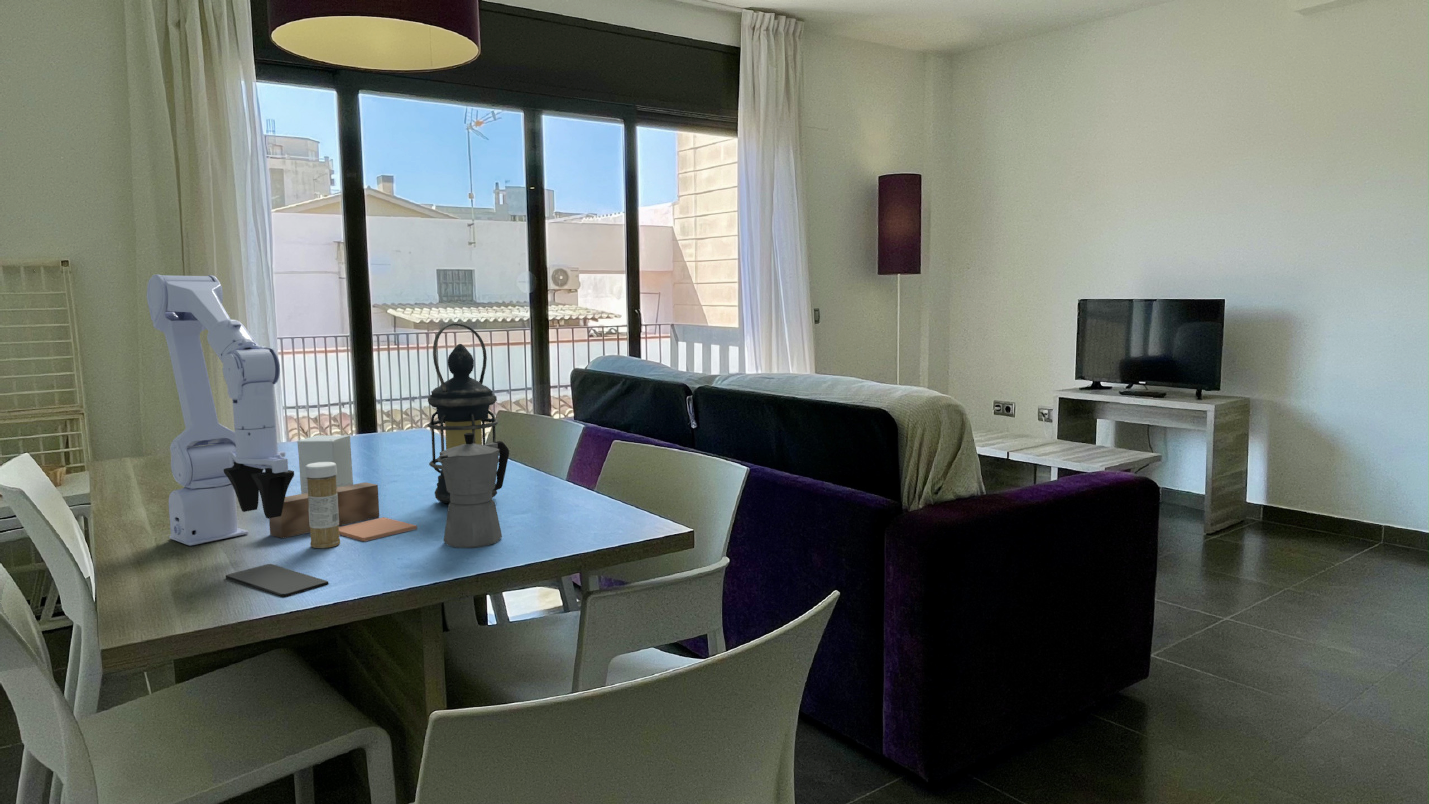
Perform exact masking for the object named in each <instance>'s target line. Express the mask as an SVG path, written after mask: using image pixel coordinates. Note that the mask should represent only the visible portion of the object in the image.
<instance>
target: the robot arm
mask: <svg viewBox="0 0 1429 804" xmlns="http://www.w3.org/2000/svg"><path fill="white" fill-rule="evenodd" d="M146 302H147V306H148V310H149V315H150V319H151V321H152V325H153V328H154V329H156V330H157V331H160V332H162V333H164V337H165V341H166V345H167V348H168V354H169V357H170V358H169V359H170V362H171V367H172V372H173V377H174V380H175V385H176V390H177V394H178V398H179V404H180V407H181V408H180V409H181V413H182V418H183V423H184V427H185V428H184V430H183V431H182V432H180V434H178V435H177V436H176V437H175V438H174V439H172V441H171V443H170V447H169V450H170V469H171V474H172V476H173V478H174V480H175V482H176V483H177V484H179V485H180V486H182V488H179V489H175V490H172V491H171V492H170V493H169V497H168V517H169V525H170V526H169V527H170V529H169V530H170V535H169V536H168V537H169V539H171V540H173V541H176V542H178V543H182V544H184V545H187V546H195V545H196V546H197V545H199V544H205V543H210V542H215V541H219V540H223V539H228V538H229V539H230V538H234V537H238V536H244V535H247V534H249V530H247V529H243V528H240V527H238V525H239V524H238V512H237V511H238V510H237V501H238V504H239V507H240V509H241V511H242V513H246V512H252V511H255V510H258V508H259V500H260V499H261V504H262V508H263V509H262V510H263V513H264V516H265V518H266V519H269V518H274V517H279V516H281V514H282V510H283V505H284V500H285V497H286V495H287V491H288V489H289V486H290V484H291V481H292V480H293V478H294V477H295V471H294V470H291V469H289V465H288V464H289V462H288V458H285V457H286V452H285V451H279V449H278V436H277V435H278V434H277V419H276V418H277V417H276V404H275V403H276V402H275V387H274V385H276V384H277V383H278V381H279V378H280V373H281V364H280V360H279V356H278V354H277V353H276V351H275V349H274V348H272V347H270V346H265V345H260V344H259V343H258V342H257V341H256V339H255V338H254V337H253V335H252V334H251V333H250V331H249V330H248V329H247V328H246V326H245V325H244V324H243V323H242V322H241V321H240V320H237V319H231V317H230V315H229V314H228V312H227V311H226V309H225V307H224V305H223V302H224V291H223V286H222V284H221V282H220V280H219V279H218V278H217V277H216V276H215V275H213V274H212V275H211V274H208V275H162V274H159V273H158V274H156V273H155V274H153V275H152V276H151V277H150V278H149V280H148V282H147V287H146ZM206 330H207V331H208V333H207V336H206V337H207V338H206V340H207V343H208V345H209V347H211V349H212V350H213V351H214V353H215V354H216V356H217V357H218V359H219V360H220V361H221V363H222V374H223V377H224V378H223V379H224V381H225V384H226V386H227V387H226V388H227V394H228V397H229V399H231V400H232V401H231V402H232V411H233V428H234V430H232V429H230V428H228V427H226V426H225V425H223V424H221V423H220V422H219V419H218V414H217V410H216V406H215V401H214V397H213V392H212V386H211V383H210V378H209V374H208V370H207V368H208V367H207V364H206V360H205V359H206V358H205V356H204V350H203V346H202V341H201V337H200V335H201V333H202V332H203V331H206ZM259 496H260V499H259Z"/></svg>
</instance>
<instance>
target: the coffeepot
mask: <svg viewBox="0 0 1429 804" xmlns="http://www.w3.org/2000/svg"><path fill="white" fill-rule="evenodd" d="M464 437H465V441H466V444H463V445H460V446H456V447H453V448H449V449H447V450H446V449H444V451H442V452H441V451H439V456H438V457H437V458H436V459H437V460H438V462H437V463H440V465H442V468H443V473H444V478H445V483H446V489H447V491H448V492H449V493H450V503H448V507H447V513H446V520H445V522H446V523H445V530H444V536H443V542H444V543H445V544H446V545H447V546H449V547H452V548H457V549H471V548H472V549H474V548H484V547H487V546H488V547H489V546H490V545H494V544H496V543H499V541H500V540H501V538H503V536H502V535H503V534H502V529H501V524H500V520H499V516H498V512H497V511H498V509H497V506H496V502H495V501H494V499H493V498H492V490H493V491H495V490H496V491H499V490H500V489H502V487H503V485H504V479H505V475H506V471H507V466H508V460H509V457H510V450H509V447H507V445H506V444H505V443H504V442H503V441H502V440H499V441H497V440H496V442H494V443H493V442H488V443H485V445H483V444H482V445H479V444H474V443H473V440H474V434H473V433H470V432H469V433H466V434H464ZM498 458H499V462H498Z"/></svg>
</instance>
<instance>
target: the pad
mask: <svg viewBox="0 0 1429 804" xmlns="http://www.w3.org/2000/svg"><path fill="white" fill-rule="evenodd" d="M417 529H418V525H417V524H414V523H413V524H411V523H409V522H408V523H407V522H405V521H400V520H396V519H393V518H390V517H389V518H388V517H384V516H382V517H377V518H373V519H368V520H364V521H359V522H355V523H350V524H346V525H341V526H339V536H343V537H348V538H349V539H353V540H358V541H361V542H368V541H371V540H376V539H380V538H385V537H388V536H393V535H396V534H397V535H398V534H402V533H405V532H409V531H413V530H417Z"/></svg>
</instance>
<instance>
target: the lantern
mask: <svg viewBox="0 0 1429 804" xmlns="http://www.w3.org/2000/svg"><path fill="white" fill-rule="evenodd" d="M453 326H456V327H463V328H465V329H467V330H469V331H470V332H471V333H472V334H474V335H475V337H476V338H477V339H478V342H479V343H480V346H481V349H482V357H483V358H482V368H481V373H480V377H479V381H478V380H477V379H474V378H472V377H470V375H471V374H472V372H473V369H474V367H475V360H474V358H473V355H472V354H471V353H470V351H469V350H468V349H467V348H466V347H465V345H463V344H462V343H458V344H457V345H455V347H454V348H453V350H452V351H451V352H450V354H448V358H447V366H448V370H449V372H450V373H451V374H452V375H453V376H452V377H451V378H450V379H448V380H446V381H445V380H444V378H443V376H442V374H441V371H440V367H439V363H438V358H437V357H438V356H437V347H438V342H439V339H440V336H441V335H442V333H443V332H444V331H445V329H447V328H449V327H453ZM487 356H488V355H487V350H486V345H485V343H484V340H483V339H482V337H481V336H480V335H479V333H478V332H477V331H476V330H475V329H473V328H472V327H470V326H468V325H466V324H462V323H458V322H456V323H455V322H453V323H449V324H446V325H444V326H442V327H441V328H440V329H439V330H438V332H437V333H436V335H435V338H434V341H433V347H432V358H433V364H434V368H435V369H434V370H435V372H436V375H437V377H438V379H439V382H440V385H439V386H437V387H435V388H434V389H433V390H431V394H429V395H428V396H427V402H428V404H429V406H431V407H432V408H436V411H435V412H434V413H433V414H431V416H430V417H431V418H430V422H429V423H427V425H426V426H427V427H428V428H429V429H431V430H430V431H431V454H432V460H431V461H430V462H429V465H428V466H430V467H431V468H433V469H434V471H435V472H438V474H439V475H438V476H437V483H436V489H435V491H434V496H435V497H434V498H435V499H436V500H437V501H438V502H441V503H444V504H450V493H449V492H448V491H447V489H446V483H445V478H444V473H443V468H442V464H437V463H439V462H438V460H437V458H436V443H435V442H436V440H435V430H437V431H440V447H441V448H440V449H441V450H440V452H442V451H444V450H447V449H449V448H453V447H456V446H460V445H463V444H466V441H465V437H464V434H466V433H469V432H470V433H473V434H474V440H473V443H474V444H479V445H485V444H486V429H488V428H492V443H494V442H497V439H496V426H497V425H498V424H499V420H497V419H496V418H495V415H494V413H493V412H492V411H491V410H490V406H492V405H494V404H495V403H496V402H497V401H498V400H497V399H498V397H497V395H495V393H494V391H493V390H492V389H491V388H489V387H488V386H487V385H484V384H483V382H484V378H485V373H486V369H487V360H488V359H487ZM489 415H490V416H491V417H490V418H489ZM436 416H437V419H436V420H435V417H436ZM444 431H445V433H444ZM444 434H445V436H444ZM444 438H445V439H444ZM498 463H499V457H498ZM497 494H498V490H495V491H493V490H492V499H493V498H495V497H496V496H497Z"/></svg>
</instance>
